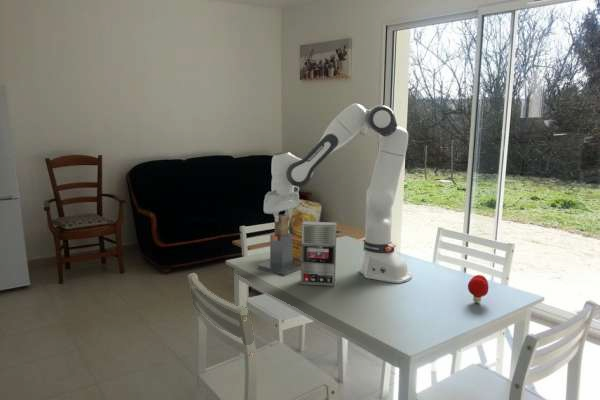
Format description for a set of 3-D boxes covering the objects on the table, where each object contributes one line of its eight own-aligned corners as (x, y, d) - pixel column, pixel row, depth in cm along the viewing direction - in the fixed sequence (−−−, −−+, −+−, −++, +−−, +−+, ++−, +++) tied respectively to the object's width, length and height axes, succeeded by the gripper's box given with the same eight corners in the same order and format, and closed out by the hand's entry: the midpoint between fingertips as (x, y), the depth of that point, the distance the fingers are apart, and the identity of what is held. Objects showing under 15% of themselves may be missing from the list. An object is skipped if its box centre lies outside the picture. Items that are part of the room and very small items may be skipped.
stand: (304, 267, 208) (305, 234, 205) (285, 275, 197) (285, 240, 194) (277, 260, 217) (278, 228, 215) (257, 268, 207) (257, 234, 204)
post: (288, 259, 207) (288, 215, 203) (281, 261, 203) (282, 217, 200) (280, 257, 209) (280, 214, 206) (274, 259, 206) (274, 215, 202)
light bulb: (484, 309, 165) (486, 282, 163) (464, 304, 169) (466, 278, 167) (489, 300, 173) (491, 275, 171) (469, 296, 176) (471, 271, 175)
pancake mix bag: (292, 252, 231) (292, 197, 226) (322, 260, 219) (323, 202, 213) (283, 255, 226) (283, 198, 221) (312, 263, 214) (313, 204, 209)
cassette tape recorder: (300, 285, 187) (301, 224, 182) (302, 279, 193) (303, 221, 188) (334, 286, 185) (336, 226, 180) (335, 281, 191) (337, 222, 186)
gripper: (271, 193, 191) (271, 225, 193) (301, 187, 207) (301, 217, 209) (259, 191, 194) (260, 223, 197) (290, 185, 210) (290, 215, 213)
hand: (281, 220), depth 203 cm, fingers closed on post, 4 cm apart
